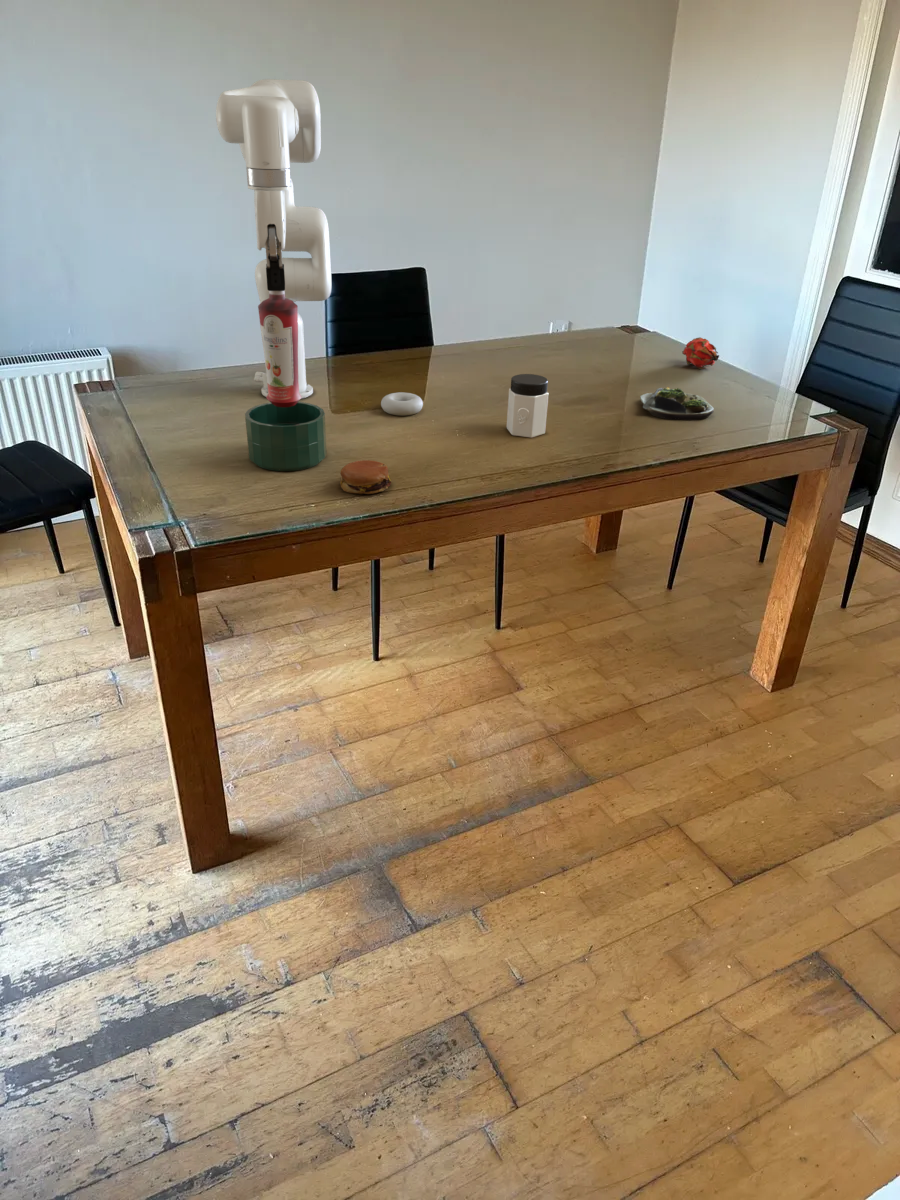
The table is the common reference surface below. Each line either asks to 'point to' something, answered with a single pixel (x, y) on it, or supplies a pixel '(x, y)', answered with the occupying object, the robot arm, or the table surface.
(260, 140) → the robot arm
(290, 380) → the liquor
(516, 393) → the jar
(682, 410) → the salad plate
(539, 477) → the table surface
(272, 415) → the ice bucket
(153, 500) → the table surface
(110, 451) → the table surface
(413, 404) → the donut
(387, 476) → the burger
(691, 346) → the dragon fruit
